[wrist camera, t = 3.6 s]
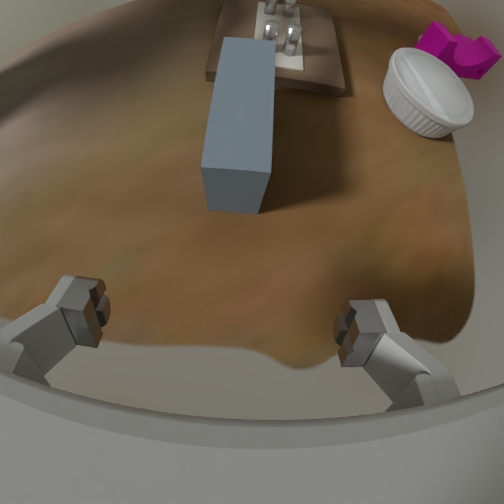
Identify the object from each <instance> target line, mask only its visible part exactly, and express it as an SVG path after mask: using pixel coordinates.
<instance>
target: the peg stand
mask: <svg viewBox="0 0 504 504" xmlns="http://www.w3.org/2000/svg"><path fill="white" fill-rule="evenodd" d="M224 37H236V38H249V39H260V40H269V41H276V50H275V84H274V86H277V87H285V88H292V89H299V90H305V91H311V92H317V93H322V94H328V95H333V96H338V97H341V96H342V94H343V92H344V91H345V82H344V76H343V70H342V64H341V58H340V53H339V48H338V43H337V38H336V33H335V28H334V23H333V19H332V15H331V10H328V9H323V8H319V7H314V6H309V5H303V4H297V0H285V1H278V0H224V1H223V5H222V8H221V12H220V15H219V19H218V23H217V26H216V30H215V34H214V38H213V42H212V46H211V50H210V54H209V58H208V62H207V67H206V71H205V72H206V81H215V79H216V74H217V69H218V64H219V59H220V54H221V49H222V44H223V40H224Z"/></svg>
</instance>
